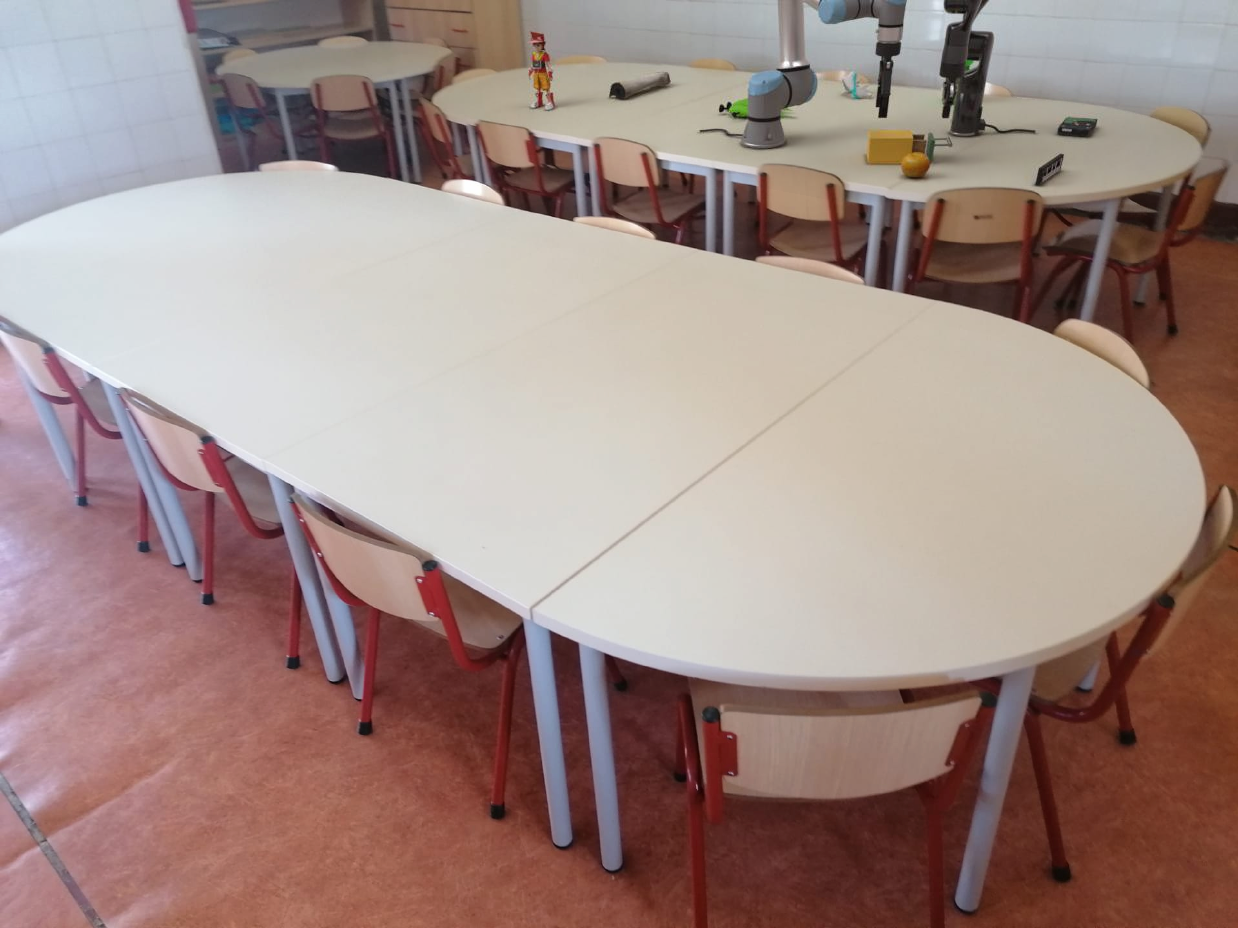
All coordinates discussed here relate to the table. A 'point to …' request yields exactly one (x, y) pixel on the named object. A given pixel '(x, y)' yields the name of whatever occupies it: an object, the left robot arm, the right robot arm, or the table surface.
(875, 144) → the cabinet
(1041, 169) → the midi keyboard
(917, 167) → the fruit
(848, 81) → the anatomical model
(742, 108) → the toy
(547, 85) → the toy
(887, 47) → the left robot arm
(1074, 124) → the disk drive
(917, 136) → the drawer
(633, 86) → the rolled mat
